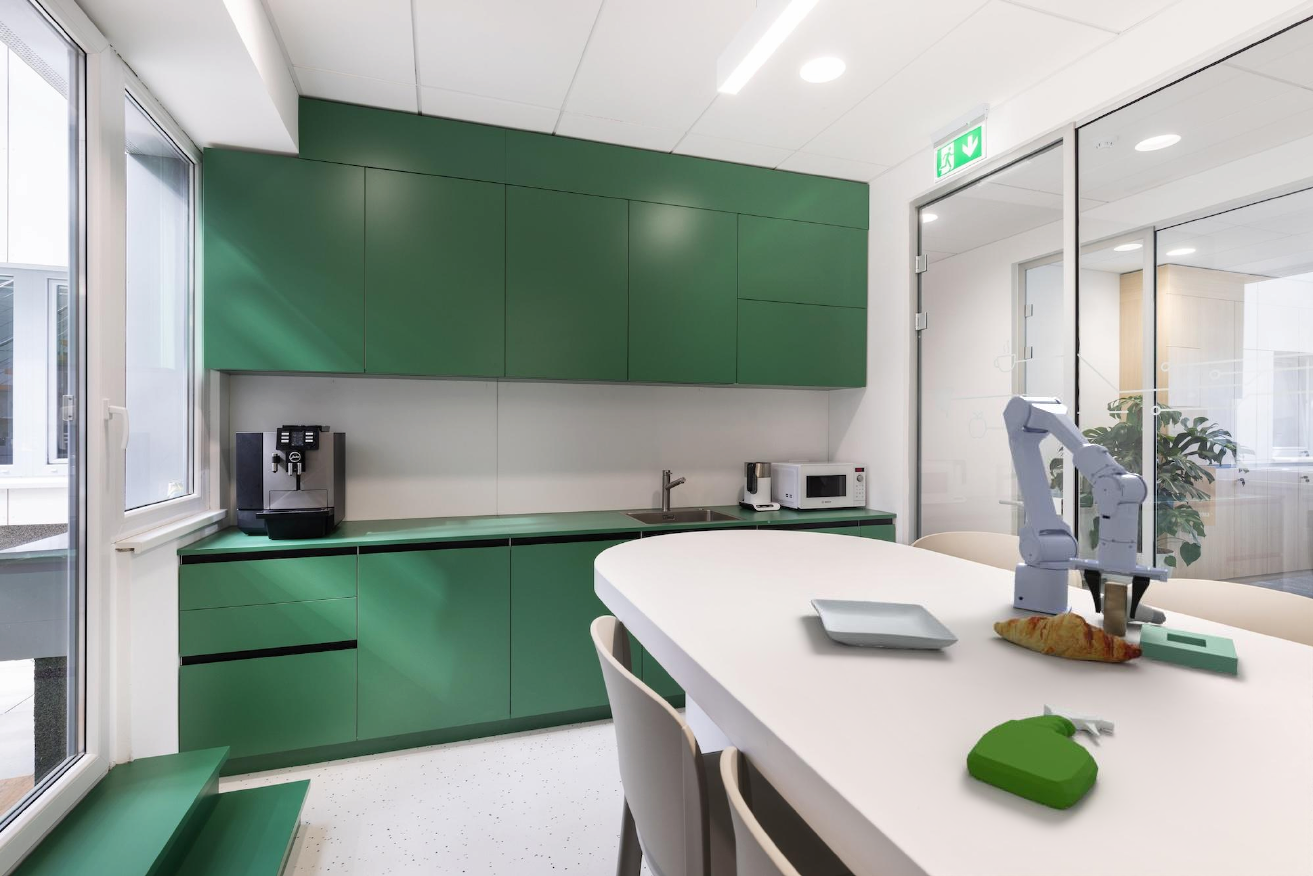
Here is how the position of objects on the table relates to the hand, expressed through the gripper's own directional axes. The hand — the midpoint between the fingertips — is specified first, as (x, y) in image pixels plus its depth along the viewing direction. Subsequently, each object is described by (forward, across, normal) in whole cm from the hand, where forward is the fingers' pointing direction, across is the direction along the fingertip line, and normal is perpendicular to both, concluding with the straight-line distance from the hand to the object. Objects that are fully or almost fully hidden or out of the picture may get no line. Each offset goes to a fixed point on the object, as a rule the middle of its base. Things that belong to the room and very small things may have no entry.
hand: (1115, 614), depth 118 cm
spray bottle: (+4, -3, -59) cm, 59 cm away
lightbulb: (+2, +7, +12) cm, 14 cm away
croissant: (+4, -6, -17) cm, 18 cm away
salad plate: (+4, -33, -29) cm, 44 cm away
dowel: (+3, 0, 0) cm, 3 cm away
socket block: (+3, +10, -6) cm, 12 cm away
